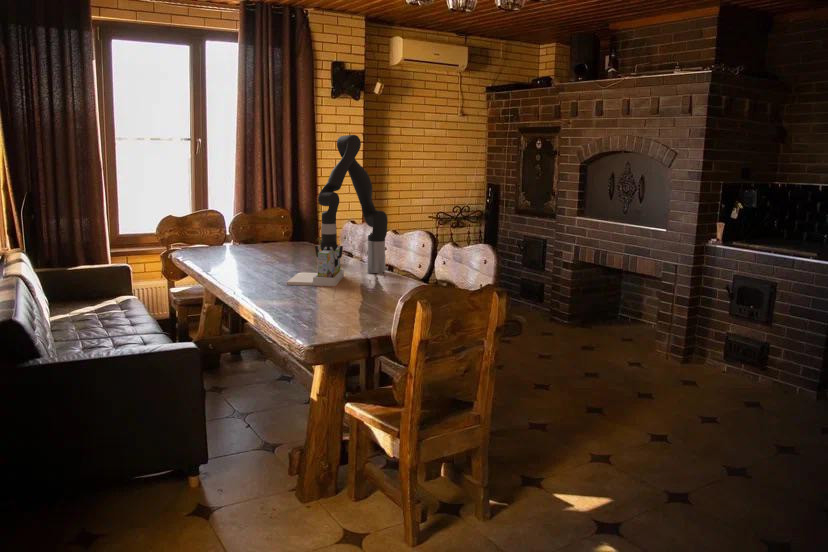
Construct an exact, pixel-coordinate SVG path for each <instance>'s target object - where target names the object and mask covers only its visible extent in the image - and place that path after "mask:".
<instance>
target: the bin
mask: <svg viewBox="0 0 828 552" xmlns="http://www.w3.org/2000/svg"><path fill="white" fill-rule="evenodd" d="M316 273H317V274H316V275H315V276H314V277H313V285H312V286H313V287H314V286H316V287H336V286H337V285H338V283H339V282H341V280H342V279H344V277H345V274H344V273H345V269H344V268H340V272H339V273H338V274H337V275H336V276H335V277H334V278H327V277H318V272H316Z"/></svg>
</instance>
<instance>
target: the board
mask: <svg viewBox="0 0 828 552" xmlns="http://www.w3.org/2000/svg"><path fill="white" fill-rule="evenodd" d="M317 273H318V272H303V271H302V272H298V273H296V274H294V276H292V277H291V278H290V279H288V280H287V281H286V286H313V277H314V276H315V275H316V274H317Z"/></svg>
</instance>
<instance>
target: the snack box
mask: <svg viewBox="0 0 828 552" xmlns="http://www.w3.org/2000/svg"><path fill="white" fill-rule="evenodd" d="M335 251H336V253H337V255H338V256H339V251H340V250H339V249H338V248H337V249H336V250H335ZM335 251H334V252H335ZM334 252H333V250H323V251H322V250H321V251H319V252H318V258H317V273H318V277H327V278H334V277H335V276H336V275H337V274H338V273H339V272H340V269H341V258H339V259H338V265H337V267H335V257H334Z"/></svg>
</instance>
